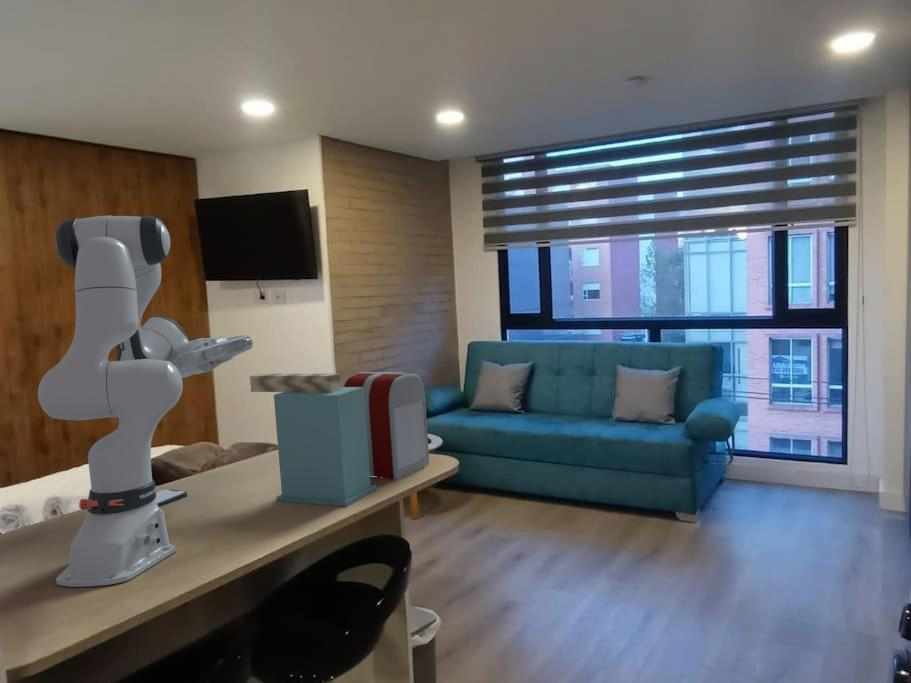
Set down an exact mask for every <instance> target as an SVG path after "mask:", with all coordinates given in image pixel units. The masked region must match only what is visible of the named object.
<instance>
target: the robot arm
mask: <svg viewBox="0 0 911 683" xmlns="http://www.w3.org/2000/svg"><path fill="white" fill-rule="evenodd" d="M56 229H57V230H56V234H55V246H56V249H57V253H58V255H59V258H60V260H61V261H62V262H63V263H64V264H65V265H67V266H68V267H69V268H73V269H75V271H74V274H75V275H74V293H75V294H74V295H75V329H74V334H73V339H72V341H71V344H70V346H69V348H68V350H67V351H66V353H65V355H64V356H63V357H62V358H61V359H60V361H59V362H58V363H57V364H55V366H54V367H52V368H50V369H49V370H48V371H47V372H46V373H44V375H43V377H42V379H40V381H39V382H40V383H39V385H38V389H37V398H38V402H39V406H40V407H41V408H42V410H43V412H44V413H45V414H46V415H47V416H49V417H50V418H51V419H54V420H55V419H57V420H63V421H64V420H67V421H88V420H95V419H96V420H97V419H106V418H107V419H108V418H118V427H117V429H115V430H113V431H112V432H110V433H109V434H107V435H105V436H103V437H101V438H100V439H99V440H97V441H96V442H95V443H94V444H92V446H91V448H90V449H89V451H88V454H87V455H88V456H87V460H88V468H89V469H88V471H89V478H90V481H89V482H90V487H91V488H90V490H89V494H88V497H87V498H81V499H80V500H79V503H78V507H79V509H80V511H85V510H86V511H87V515H86V517H85V519H84V520H83V523H82V524H81V526H80V528H79V530H78V531H77V533H76V535H75V536H74V539H73V540H72V542H71V544H70V546H69V552H68V562H69V563H68V565H67V567H66V568H65V569H63V571H62V572H61V573H60V574H58V576H57V577H56V578H55V584H56V585H58V586H63V587H73V588H74V587H75V588H78V587H79V588H80V587H83V588H84V587H85V588H86V587H99V586H108V585H114V584H115V585H116V584H119V583H124V582H127V581H129V580H131V579H133V578H135V577H136V576H138V575H139V574H141V573H143V572H144V571H146V570H148V569H149V568H151V567H153V566H155V565H156V564H158V563H160V562H161V561H162V560H164V559H166V558H167V557H169V556H171V555H172V554H174V553H175V552H177V550H176V546H175V545H174V544H172V543H170V540H169V539H170V538H169V535H168V529H167V523H166V519H165V518H166V517H165V512H164V511H163V510H162V509H161V507H159V506H158V505H157V503H156V501H155V498H156V492H157V486H156V481H155V480H154V479H153V477H152V476H153V473H152V458H151V457H152V455H151V454H152V441H153V437H154V433H155V430H156V428H157V427H158V424H159V423H160V421H161V420H162V419H163V417H164V416H165V415H166V414H167V413H168V412H169V411H170V410H171V409H173V408H174V407H175V406H176V405H177V404H178V402H179V400H180V399H181V396H182V393H183V390H184V389H183V387H184V382H183V378H187V377H191V376H192V375H200V374H204V373H207V372H210V371H213V370H214V369H215V368H217V367H218V366H220V365H221V364H224V363H226V362H228V361H230V360H232V359H233V358H234V357H236V356H238V355H241V354H242V353H245V352H247V351H249V350H251V349H253V344H254V342H253V339H252V338H251V336H250V335H248V334H244V335H238V336H237V335H236V336H231V337H227V336H220V337H213V338H209V337H201V338H197V339H193V340H190V339H189V337H188V335H187V334H186V331H185V330H184V328H183V327H182V326H181V325H180V323H178V322H177V321H176V320H175V319H172V318H170V317H167V316H163V315H157V316H151V317H149V318H148V320H146V321H145V323H144V324H143V325H142V324H141V323H142V319H143V314H144V312H145V311H146V309H147V307H148V305H149V303H150V302H151V300H152V299H153V297H154V296H155V293H156V292H157V291H158V289H159V287H160V285H161V281H162V266H161V264H162V263H163V262H164V261H165V260H166V259H167V258H168V256H169V252H170V248H171V236H170V232H169V230H168V229H167V227H166V225H165V223H164V222H163V221H162V220H161V219H160V218H158V217H155V216H151V215H142V216H135V215H134V216H133V215H112V214H111V215H98V216H90V217H85V218H84V217H83V218H79V217H76V218H75V217H74V218H70V219H68V220H64V221H62V222H61V223H60V225H59V226H58V227H57V228H56ZM115 347H116V350H117V351H116V356H115V360H114V361H111V360H109V355H110V353H111V351H112V350H113V349H114V348H115Z"/></svg>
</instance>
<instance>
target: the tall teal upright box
mask: <svg viewBox="0 0 911 683" xmlns="http://www.w3.org/2000/svg"><path fill="white" fill-rule="evenodd" d="M273 401H274V402H273V403H274V415H275V425H276V426H275V427H276V438H277V451H278V462H279V463H278V464H279V475H280V486H281V487H280V489H281V494H279V495H277V496H276V497H275V499H276V500H275V501H277V502H284V503H285V502H288V503H299V504H309V505H310V504H311V505H312V504H313V505H322V506H336V507H348V506H349V507H350V506H351V505H352V504H354V503H355V502H357V501H359V500H360V499H362V498H364V497H365V495H366V494H367V495H369V494H370V492H371V491H372V492H374V491H375V489H376V490H377V484H371V477H370V470H369V456H368V441H367V427H366V413H365V399H364V387H343V386H341V390H339V391H335V392H278V393H276V394H273ZM373 490H374V491H373ZM372 492H371V493H372ZM368 493H369V494H368ZM367 495H366V496H367ZM363 496H364V497H363Z"/></svg>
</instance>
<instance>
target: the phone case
mask: <svg viewBox="0 0 911 683" xmlns="http://www.w3.org/2000/svg"><path fill="white" fill-rule="evenodd" d="M187 497H188V491H185V490H178V489H177V490H176V489H167V488H166V489H161V490H159V491H156V498H155V501H156V503H157V505H158V506H159V508H161V507H163V505H164V506H166V505H165V504H167V505H169V504H171V502H172V503H174V502H177V501H179V500H181V499H184V498H187ZM168 503H169V504H168ZM160 506H161V507H160Z"/></svg>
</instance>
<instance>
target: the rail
mask: <svg viewBox="0 0 911 683" xmlns="http://www.w3.org/2000/svg"><path fill="white" fill-rule="evenodd" d="M249 381H250V392H251V393H282V392H335V391H339V390H341V387H342V386H341V384H342V383H341V373H258V374H257V373H256V374H253V375H249Z"/></svg>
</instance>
